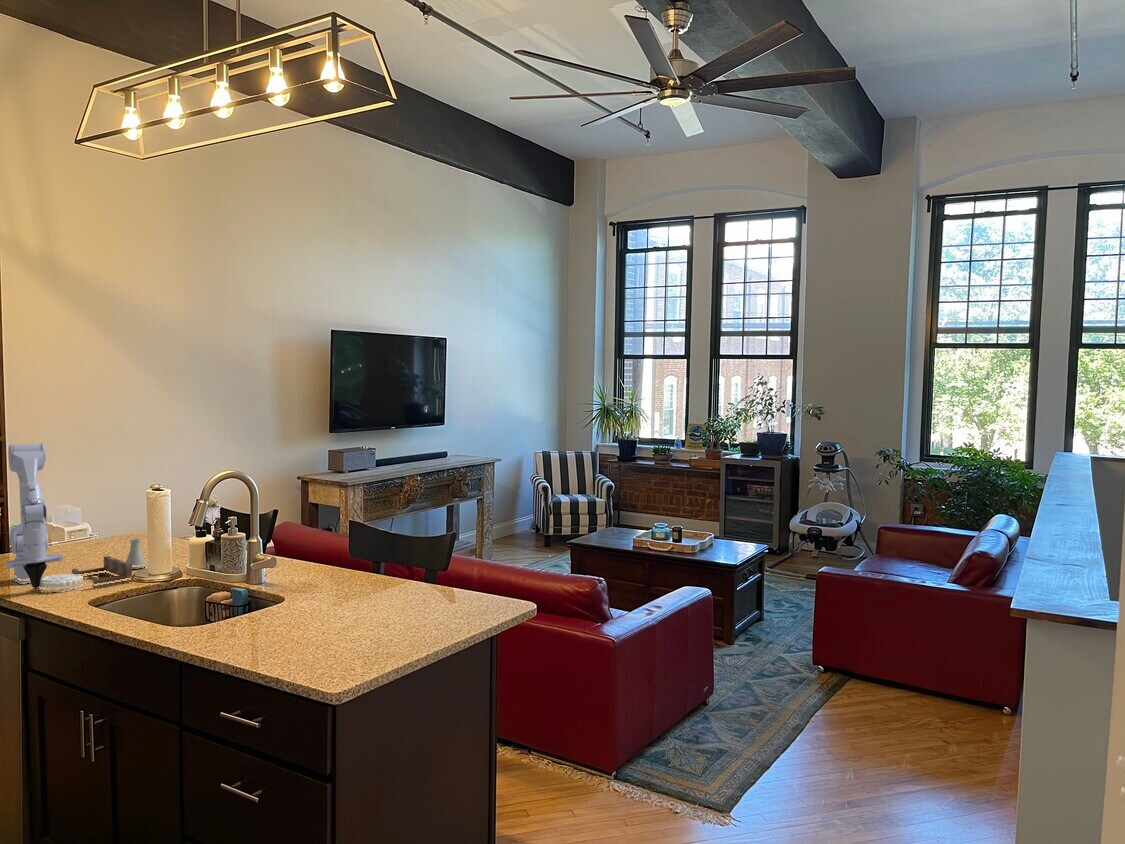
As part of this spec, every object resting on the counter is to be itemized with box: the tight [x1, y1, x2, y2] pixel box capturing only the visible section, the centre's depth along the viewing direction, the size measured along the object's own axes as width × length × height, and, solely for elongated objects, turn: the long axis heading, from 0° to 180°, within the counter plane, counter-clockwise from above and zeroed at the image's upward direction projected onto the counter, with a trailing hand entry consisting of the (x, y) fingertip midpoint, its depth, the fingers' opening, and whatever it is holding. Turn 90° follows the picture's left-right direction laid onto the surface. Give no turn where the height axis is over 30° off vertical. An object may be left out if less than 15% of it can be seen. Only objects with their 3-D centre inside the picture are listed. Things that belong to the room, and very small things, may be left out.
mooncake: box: [37, 573, 84, 593], centre depth 257 cm, size 12×12×4 cm
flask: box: [125, 538, 148, 570], centre depth 284 cm, size 7×7×10 cm
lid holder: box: [71, 555, 133, 589], centre depth 266 cm, size 18×11×6 cm, turn 50°
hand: (35, 587), depth 251 cm, fingers closed
